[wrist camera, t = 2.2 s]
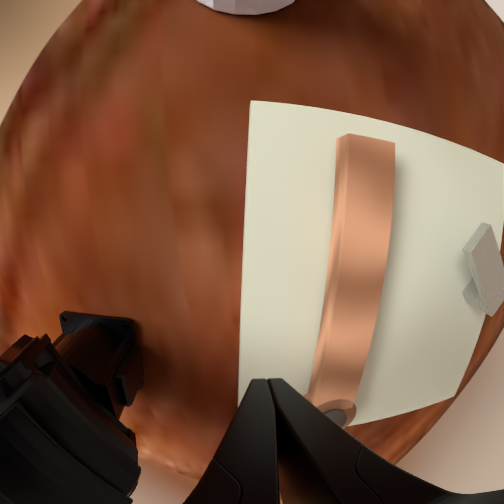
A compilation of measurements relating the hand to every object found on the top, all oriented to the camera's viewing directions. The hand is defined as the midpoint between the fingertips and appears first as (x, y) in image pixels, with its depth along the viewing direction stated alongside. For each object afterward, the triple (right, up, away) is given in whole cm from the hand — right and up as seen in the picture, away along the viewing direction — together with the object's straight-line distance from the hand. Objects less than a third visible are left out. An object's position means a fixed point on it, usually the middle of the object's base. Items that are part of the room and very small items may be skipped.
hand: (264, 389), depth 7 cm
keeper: (+18, +3, +13) cm, 22 cm away
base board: (+11, 0, +13) cm, 17 cm away
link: (+6, 0, +11) cm, 13 cm away
